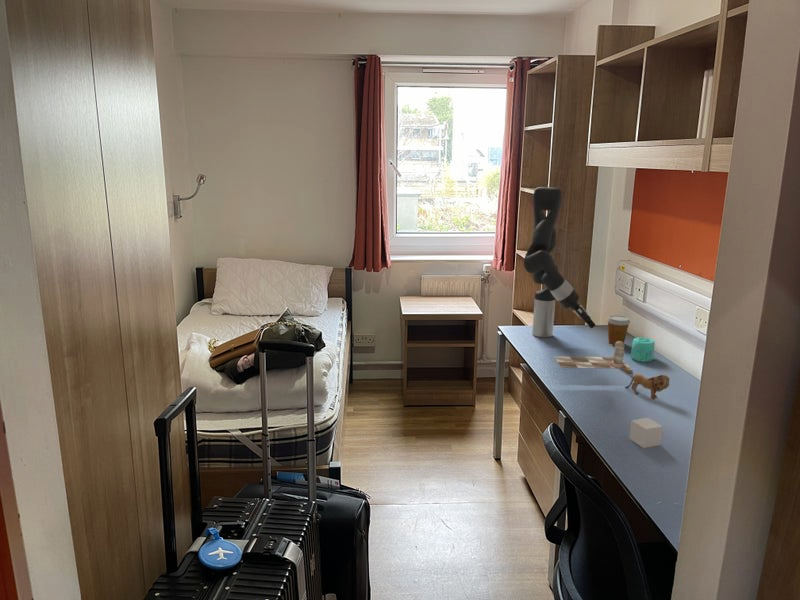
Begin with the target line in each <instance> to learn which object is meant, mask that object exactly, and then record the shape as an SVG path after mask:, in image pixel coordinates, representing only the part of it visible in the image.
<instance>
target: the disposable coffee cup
mask: <svg viewBox="0 0 800 600" xmlns="http://www.w3.org/2000/svg"><path fill="white" fill-rule="evenodd" d="M606 321H607V329H608V330H607V331H608V333H607V334H608V336H607V337H608V344H609V345H610V344H612V345H611V346H614V345H615V343H616V342H617V341H622V342H623V343H624V344H625V340H626V338H627V337H626V336H627V333H628V329H629V325H630V323H631V321H630V318H629V317H628V316H625V315H617V314H615V315H614V314H612V315H609V316H608V317H607V319H606Z"/></svg>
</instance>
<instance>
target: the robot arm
mask: <svg viewBox="0 0 800 600" xmlns="http://www.w3.org/2000/svg"><path fill="white" fill-rule="evenodd" d="M562 201H563V192H562V189H561V188H560V187H553V186H552V187H550V186H549V187H548V186H539V187H536V188H535V189H534V190H533V196H532V202H533V203H532V205H533V207H532V208H533V219H534V220H533V221H534V223H533V224H534V226H533V227H534V228H533V234H532V239H531V244H529V245H530V246H529V248H528V249H527V252H526V254H525V256H524V258H523V266H524V269H525V270H526V272H528V273H529V274H532V279H533V282H534V283H535V284H537V285H544V286H545V287H546V288H543V289H540V290H537V291H536V292H535V293H534V300H533V301H534V304H533V317H532V319H533V320H532V331H531V332H532V333H531V334H532V336H535V337H539V338H551V337H552V336H553V332H554V319H555V309H556V301H557V302H558V303H559V304H560V306H561V307H562V308H564V309H569V310H571V311H572V312H573V313H574V314H575V315H577V317H578V318H579V319H581V320H582V321H583V322H584V323H586V325H587V326H588V327H589V328H590V329H593V328H594V327H596V324H595V322H594V321H593V320H592V317H591V316H589V314H588V311H587V310H586V309H585V308H584V307H583V305H582V304H581V302H579V300H580V297H581V296H580V294H579V293H578V292H577V291H576V289H575V288H574V287H573V286H572V285H571V284H570V282H569V281H567V279H565V278H564V277H563V275H562V274H561V273H560V272H559V267H558V266H557V264H555V261H554V259H553V257H552V255H551V253H552V251H553V250H554V249H555V247H556V243H557V231H556V228H555V225H556V224H557V223H556V222H557V219H558V217H559V213H560V210H561V207H562V206H561V205H562V203H563V202H562ZM544 211H548V214H547V215H545V212H544Z"/></svg>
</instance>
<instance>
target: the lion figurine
mask: <svg viewBox="0 0 800 600" xmlns="http://www.w3.org/2000/svg"><path fill="white" fill-rule="evenodd" d="M639 385H641V386H642V387H643V388H644V389H646V390H650V400H652V401H656V398H658V395H656V393H657V392H662V391H663V390H665V389H667V388H669V387H670V377H669V376H668V375H667V374H660V375H657V376H653V377H649V378H648V377H645V376H644V375H643V374H641V373H640V374H637V373H636V374H635V375H633V376H632V378H631V381H630V383H629V384H628V385H627V386H625V387H624V388H625V389H629V388H630V387H631V390H633V392H634V394H635V395H638V394H639V392H638V391H637V388H638V386H639Z"/></svg>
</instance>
